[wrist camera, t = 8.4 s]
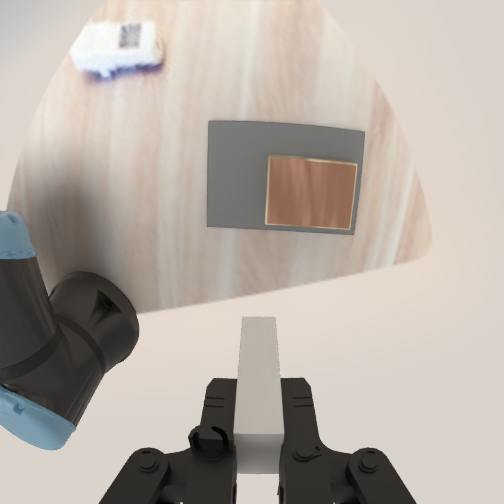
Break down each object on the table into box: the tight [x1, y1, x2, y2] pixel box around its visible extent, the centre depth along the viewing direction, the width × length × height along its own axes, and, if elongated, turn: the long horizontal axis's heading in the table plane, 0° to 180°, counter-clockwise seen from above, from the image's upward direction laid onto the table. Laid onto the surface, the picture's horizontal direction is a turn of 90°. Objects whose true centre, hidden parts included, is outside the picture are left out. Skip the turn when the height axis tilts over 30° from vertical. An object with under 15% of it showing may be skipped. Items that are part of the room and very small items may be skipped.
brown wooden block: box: [265, 154, 357, 230], centre depth 33 cm, size 3×7×9 cm
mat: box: [207, 121, 365, 235], centre depth 34 cm, size 17×12×1 cm
